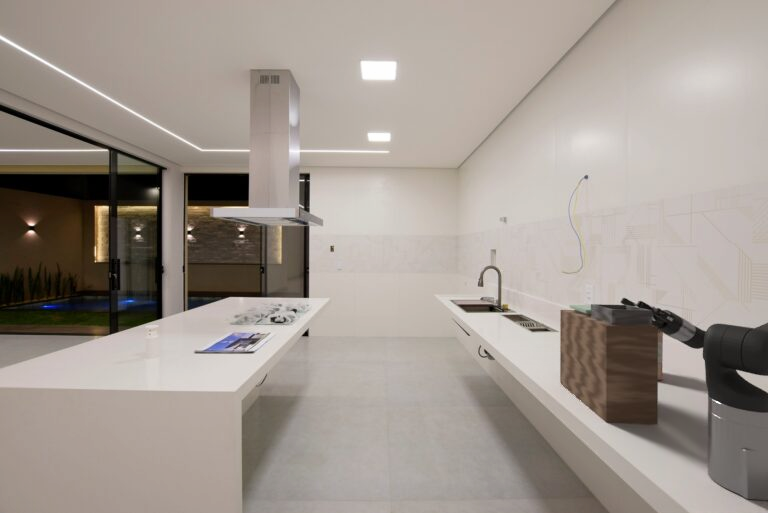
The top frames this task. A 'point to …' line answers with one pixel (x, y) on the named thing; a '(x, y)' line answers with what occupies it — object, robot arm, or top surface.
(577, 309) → the green t-shaped block
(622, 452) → the top surface
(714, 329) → the robot arm
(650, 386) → the cabinet
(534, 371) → the top surface
